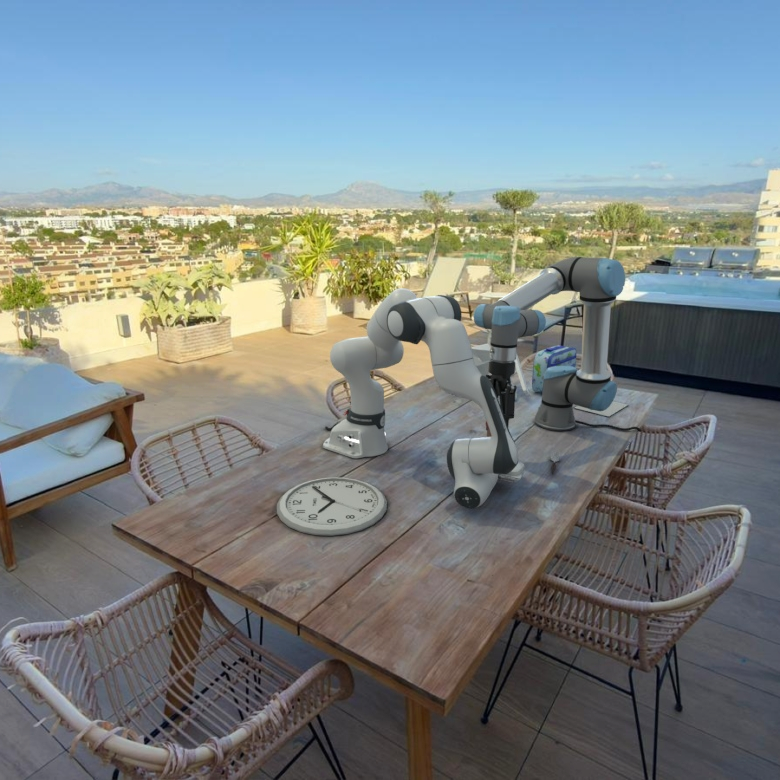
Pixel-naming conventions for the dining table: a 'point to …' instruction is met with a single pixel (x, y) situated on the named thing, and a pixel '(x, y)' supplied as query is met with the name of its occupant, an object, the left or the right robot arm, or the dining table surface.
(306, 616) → the dining table surface
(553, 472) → the fork
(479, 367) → the white plastic object
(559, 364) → the lunch box
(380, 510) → the wall clock
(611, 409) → the invitation card
